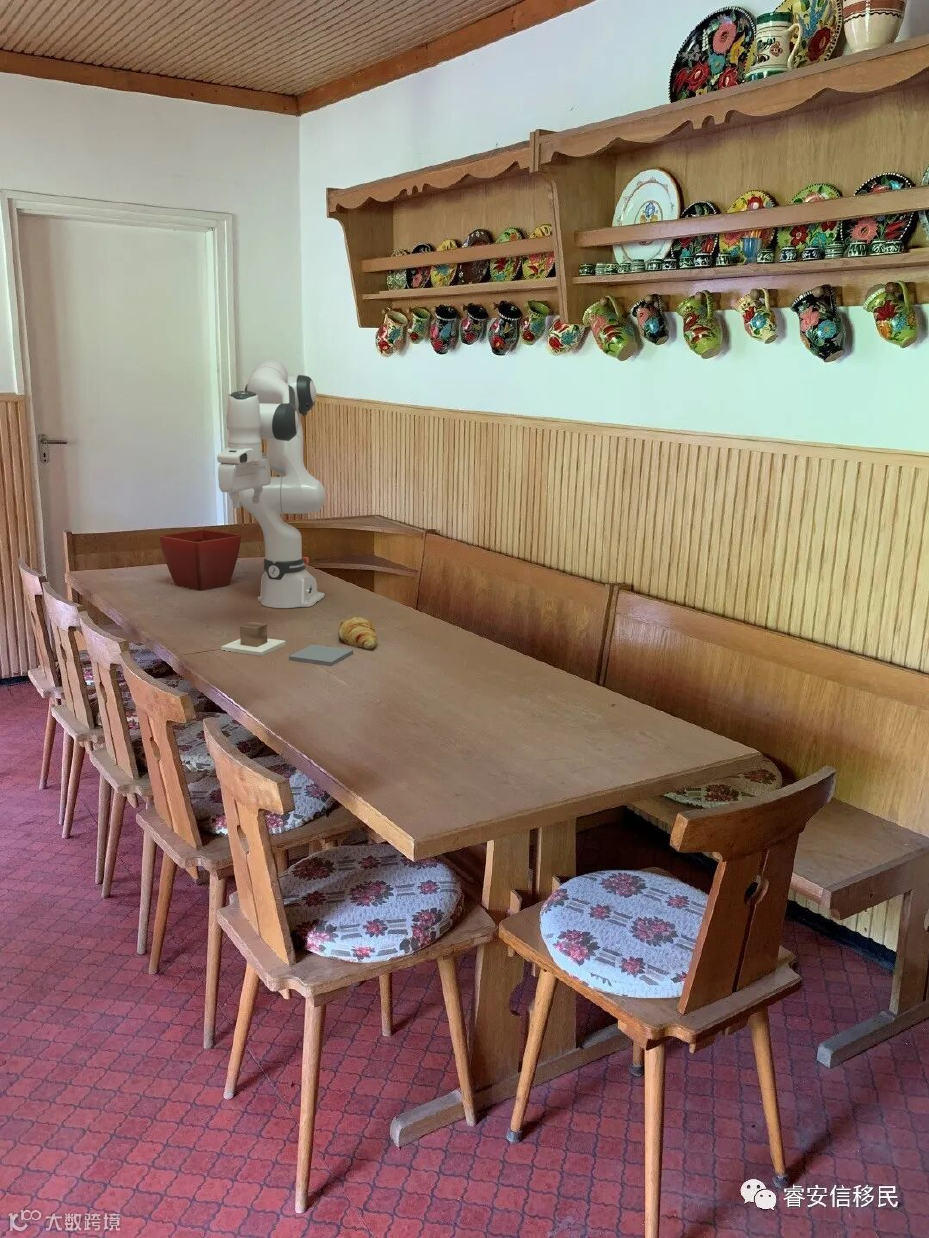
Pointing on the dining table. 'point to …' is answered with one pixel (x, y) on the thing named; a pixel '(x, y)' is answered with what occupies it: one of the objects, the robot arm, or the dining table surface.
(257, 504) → the robot arm
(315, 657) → the pad
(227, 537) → the plant pot
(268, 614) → the dining table surface
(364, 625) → the croissant
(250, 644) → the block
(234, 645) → the pad
